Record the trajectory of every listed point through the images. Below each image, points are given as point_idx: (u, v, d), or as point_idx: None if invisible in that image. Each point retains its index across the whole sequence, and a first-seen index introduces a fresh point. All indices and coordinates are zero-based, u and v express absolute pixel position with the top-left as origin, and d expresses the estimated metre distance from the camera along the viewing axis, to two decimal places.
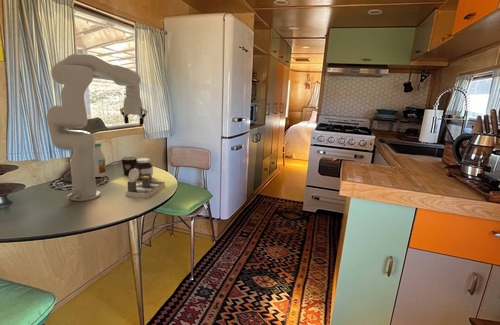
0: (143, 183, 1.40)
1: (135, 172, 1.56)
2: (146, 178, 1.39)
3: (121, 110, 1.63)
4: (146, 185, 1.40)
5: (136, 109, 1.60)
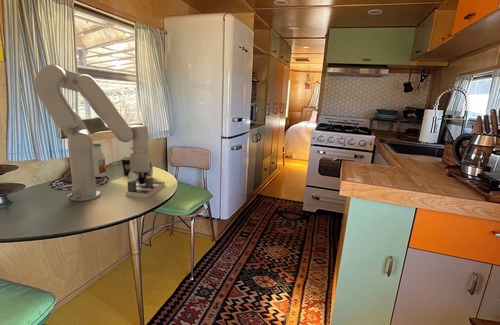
0: (146, 183, 1.40)
1: None
2: (149, 178, 1.39)
3: None
4: (149, 185, 1.40)
5: (145, 166, 1.36)
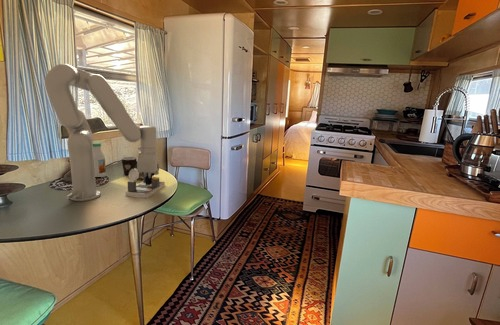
0: (152, 184, 1.39)
1: (135, 172, 1.56)
2: (156, 179, 1.39)
3: None
4: (155, 186, 1.39)
5: (152, 167, 1.36)
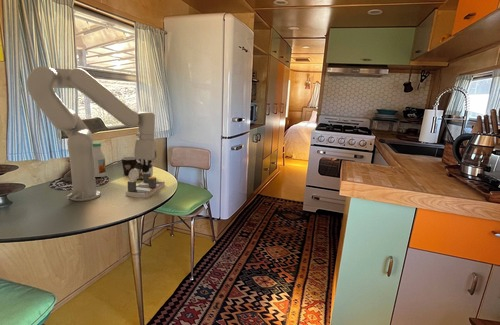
0: (149, 184, 1.40)
1: (135, 172, 1.56)
2: (152, 179, 1.39)
3: None
4: (152, 186, 1.40)
5: (149, 154, 1.34)
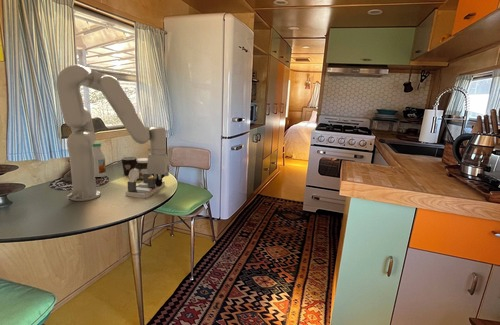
0: (149, 184, 1.40)
1: (135, 172, 1.56)
2: (152, 179, 1.39)
3: None
4: (152, 186, 1.40)
5: (162, 168, 1.35)
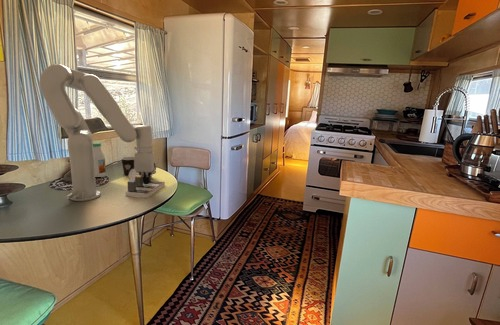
0: (136, 182, 1.40)
1: (135, 172, 1.56)
2: (139, 177, 1.40)
3: None
4: (139, 184, 1.40)
5: (149, 166, 1.36)
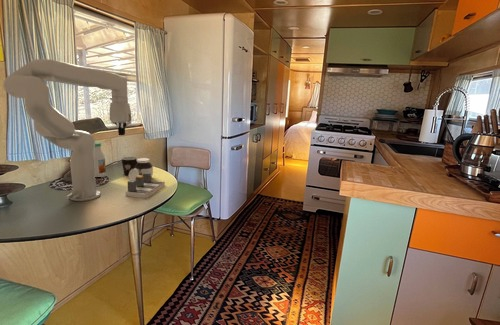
0: (137, 182, 1.40)
1: (135, 172, 1.56)
2: (140, 177, 1.40)
3: None
4: (140, 184, 1.40)
5: (123, 116, 1.40)
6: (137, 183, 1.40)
